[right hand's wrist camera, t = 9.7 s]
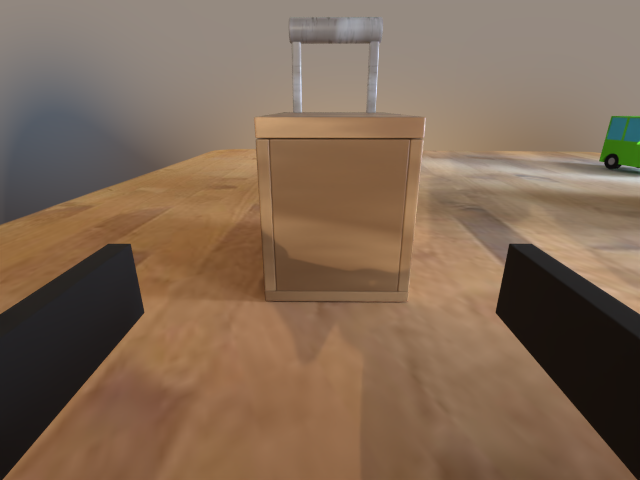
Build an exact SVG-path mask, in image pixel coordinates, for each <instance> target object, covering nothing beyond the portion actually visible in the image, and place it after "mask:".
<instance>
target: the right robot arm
mask: <svg viewBox="0 0 640 480" xmlns="http://www.w3.org/2000/svg"><path fill="white" fill-rule="evenodd" d="M143 314H144V308H143V303H142V298H141V293H140V288H139V283H138V278H137V273H136V268H135V264H134V259H133V254H132V249H131V244H107V245H106V246H104V247H103V248H101V249H100V250H98V251H97V252H95V253H94V254H92V255H91V256H89V257H88V258H86V259H84V260H83V261H81V262H80V263H78V264H77V265H75V266H74V267H72V268H71V269H69V270H68V271H66V272H65V273H63V274H61V275H60V276H58V277H57V278H55V279H54V280H52V281H51V282H49V283H48V284H46V285H45V286H43V287H42V288H40V289H38V290H37V291H35V292H34V293H32V294H31V295H29V296H28V297H26V298H25V299H23V300H22V301H20V302H19V303H17V304H15V305H14V306H12V307H11V308H9V309H8V310H6V311H5V312H3V313H2V314H0V480H3V479H4V477H5V476H6V475H7V474H8V473H9V471H10V470H11V469H12V468H13V467H14V466H15V464H16V463H17V462H18V461H19V460H20V458H21V457H22V456H23V455H24V454H25V453H26V451H27V450H28V449H29V448H30V447H31V446H32V444H33V443H34V442H35V441H36V440H37V438H38V437H39V436H40V435H41V434H42V433H43V431H44V430H45V429H46V428H47V427H48V426H49V424H50V423H51V422H52V421H53V420H54V418H55V417H56V416H57V415H58V414H59V413H60V411H61V410H62V409H63V408H64V407H65V406H66V404H67V403H68V402H69V401H70V400H71V398H72V397H73V396H74V395H75V394H76V393H77V391H78V390H79V389H80V388H81V387H82V385H83V384H84V383H85V382H86V381H87V380H88V378H89V377H90V376H91V375H92V374H93V373H94V371H95V370H96V369H97V368H98V367H99V365H100V364H101V363H102V362H103V361H104V360H105V358H106V357H107V356H108V355H109V354H110V353H111V351H112V350H113V349H114V348H115V347H116V345H117V344H118V343H119V342H120V341H121V340H122V338H123V337H124V336H125V335H126V334H127V333H128V331H129V330H130V329H131V328H132V327H133V325H134V324H135V323H136V322H137V321H138V320H139V318H140V317H141V316H142V315H143ZM496 314H497V315H498V316H499V317H500V318H501V320H502V321H503V322H504V323H505V324H506V325H507V327H508V328H509V329H510V330H511V331H512V333H513V334H514V335H515V336H516V337H517V338H518V340H519V341H520V342H521V343H522V344H523V345H524V347H525V348H526V349H527V350H528V351H529V353H530V354H531V355H532V356H533V357H534V358H535V360H536V361H537V362H538V363H539V364H540V365H541V367H542V368H543V369H544V370H545V371H546V373H547V374H548V375H549V376H550V377H551V378H552V380H553V381H554V382H555V383H556V384H557V386H558V387H559V388H560V389H561V390H562V391H563V393H564V394H565V395H566V396H567V397H568V398H569V400H570V401H571V402H572V403H573V404H574V406H575V407H576V408H577V409H578V410H579V411H580V413H581V414H582V415H583V416H584V417H585V418H586V420H587V421H588V422H589V423H590V424H591V426H592V427H593V428H594V429H595V430H596V431H597V433H598V434H599V435H600V436H601V437H602V438H603V440H604V441H605V442H606V443H607V444H608V446H609V447H610V448H611V449H612V450H613V451H614V453H615V454H616V455H617V456H618V457H619V458H620V460H621V461H622V462H623V463H624V464H625V466H626V467H627V468H628V469H629V470H630V471H631V473H632V474H633V475H634V476H635V477H636V479H637V480H640V314H638V313H637V312H635V311H634V310H632V309H631V308H629V307H628V306H626V305H625V304H623V303H621V302H620V301H618V300H617V299H615V298H614V297H612V296H611V295H609V294H608V293H606V292H605V291H603V290H602V289H600V288H598V287H597V286H595V285H594V284H592V283H591V282H589V281H588V280H586V279H585V278H583V277H582V276H580V275H579V274H577V273H575V272H574V271H572V270H571V269H569V268H568V267H566V266H565V265H563V264H562V263H560V262H559V261H557V260H556V259H554V258H552V257H551V256H549V255H548V254H546V253H545V252H543V251H542V250H540V249H539V248H537V247H536V246H534V245H533V244H509V249H508V254H507V259H506V263H505V268H504V273H503V278H502V283H501V288H500V293H499V298H498V303H497V308H496Z"/></svg>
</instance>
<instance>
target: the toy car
mask: <svg viewBox="0 0 640 480" xmlns="http://www.w3.org/2000/svg"><path fill="white" fill-rule="evenodd" d="M599 161H601V162H605V163H604V164H605V166H606V167H607V168H608V169H616V168H619V167H620V166H621V165H626V166H632V167H636V168H640V116H612V117H611V120H610V124H609V128H608V131H607V135H606V139H605V142H604V146H603V149H602V153H601V157H600V160H599Z"/></svg>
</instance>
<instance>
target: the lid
mask: <svg viewBox="0 0 640 480" xmlns="http://www.w3.org/2000/svg"><path fill="white" fill-rule="evenodd" d="M382 31H383V19H382V17H306V18H305V17H303V18H302V17H299V18H297V17H296V18H295V17H294V18H289V38H290V43H291V44H292V73H293V112H294V113H278V114H272V115H265V116H259V117H255V118H254V121H255V137H256V138H424V132H425V122H426V118H425V117H419V116H410V115H401V114H391V113H375V111H376V92H377V73H378V53H379V43H380V42H381V39H382ZM308 43H309V44H310V43H311V44H314V43H369V65H368V89H367V111H366V113H302V83H301V44H308Z"/></svg>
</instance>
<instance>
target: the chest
mask: <svg viewBox="0 0 640 480" xmlns="http://www.w3.org/2000/svg"><path fill="white" fill-rule="evenodd" d="M422 151H423V139H420V138H258V139H256V153H257V170H258V186H259V202H260V219H261V235H262V252H263V268H264V284H265V300H266V301H358V302H407V301H408V291H409V282H410V272H411V262H412V252H413V242H414V232H415V222H416V212H417V201H418V191H419V181H420V171H421V161H422Z"/></svg>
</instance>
